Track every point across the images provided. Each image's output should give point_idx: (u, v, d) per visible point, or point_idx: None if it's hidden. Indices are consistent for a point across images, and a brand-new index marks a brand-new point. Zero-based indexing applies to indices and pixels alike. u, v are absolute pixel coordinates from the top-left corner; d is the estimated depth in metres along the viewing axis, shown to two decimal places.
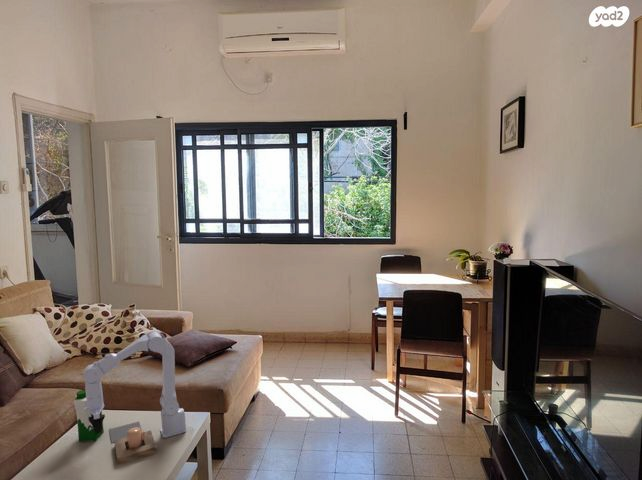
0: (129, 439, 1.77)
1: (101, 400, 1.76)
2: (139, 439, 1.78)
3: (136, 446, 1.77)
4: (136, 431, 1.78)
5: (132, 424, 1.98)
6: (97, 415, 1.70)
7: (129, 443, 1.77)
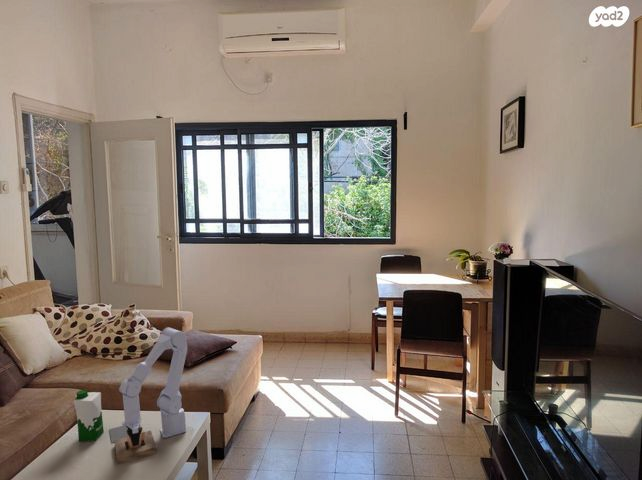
0: (129, 439, 1.77)
1: (139, 414, 1.77)
2: None
3: (136, 446, 1.77)
4: None
5: None
6: (136, 429, 1.72)
7: (129, 443, 1.77)
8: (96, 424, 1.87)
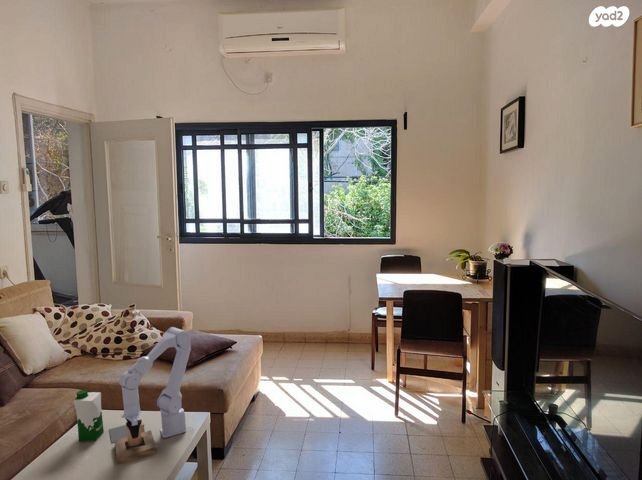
0: (128, 432, 1.76)
1: (138, 406, 1.77)
2: None
3: (135, 439, 1.77)
4: None
5: None
6: (135, 422, 1.72)
7: (128, 436, 1.77)
8: (96, 424, 1.87)
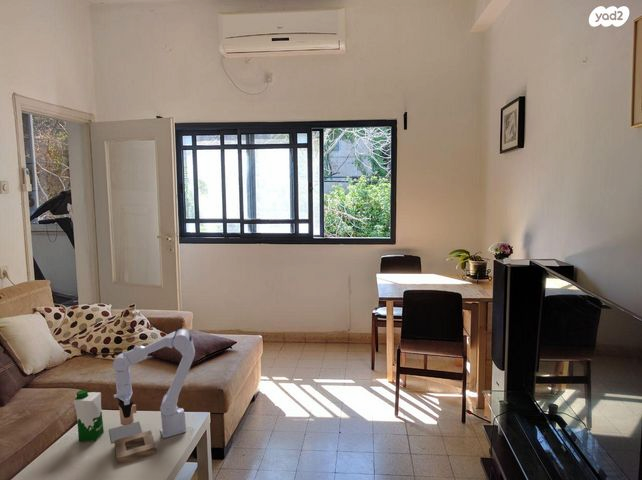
0: (121, 411, 1.85)
1: (130, 387, 1.85)
2: None
3: (127, 418, 1.85)
4: None
5: (132, 424, 1.98)
6: (127, 401, 1.80)
7: (121, 415, 1.85)
8: (96, 424, 1.87)
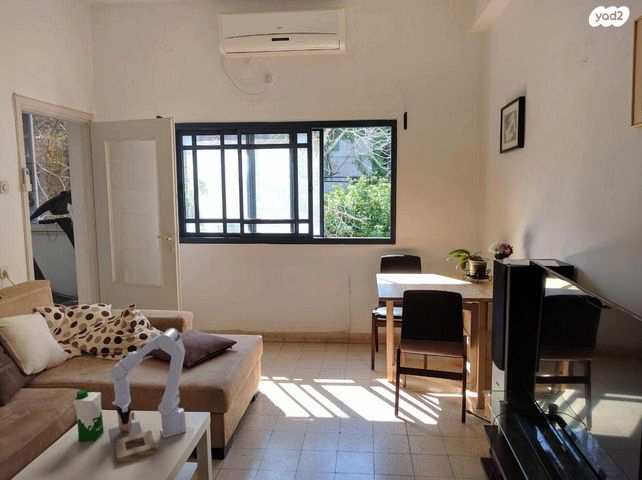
0: (119, 418, 1.90)
1: (128, 395, 1.90)
2: None
3: (125, 425, 1.90)
4: None
5: (132, 424, 1.98)
6: (125, 408, 1.85)
7: (119, 422, 1.90)
8: (96, 424, 1.87)
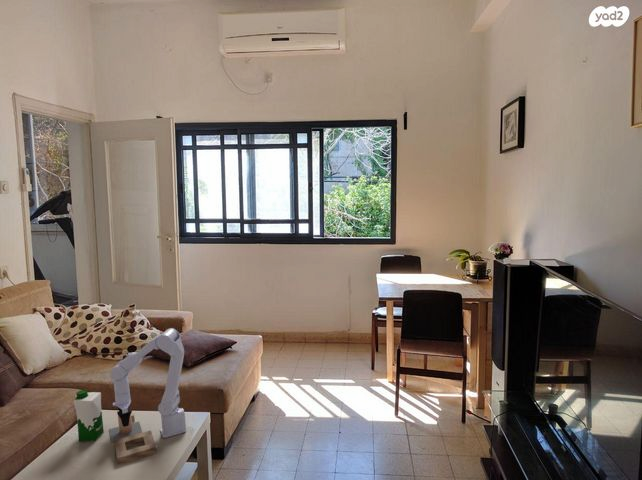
0: (119, 421, 1.90)
1: (128, 396, 1.90)
2: (129, 422, 1.91)
3: (126, 428, 1.90)
4: None
5: (132, 424, 1.98)
6: (125, 409, 1.85)
7: (119, 425, 1.90)
8: (96, 424, 1.87)
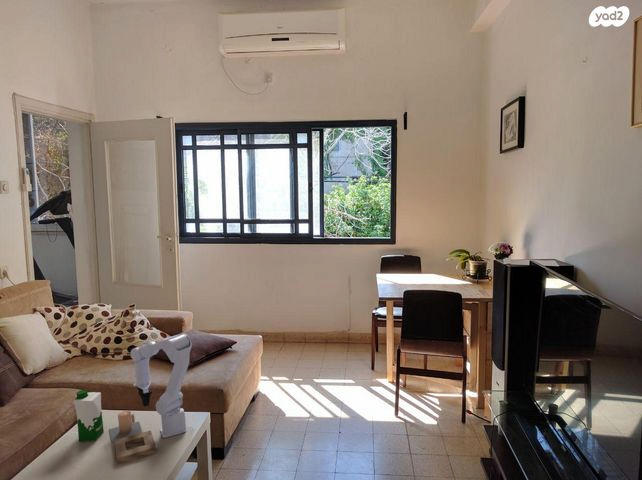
0: (119, 421, 1.90)
1: (148, 377, 1.97)
2: (129, 422, 1.91)
3: (126, 428, 1.90)
4: (126, 414, 1.91)
5: (132, 424, 1.98)
6: (146, 389, 1.92)
7: (119, 425, 1.90)
8: (96, 424, 1.87)
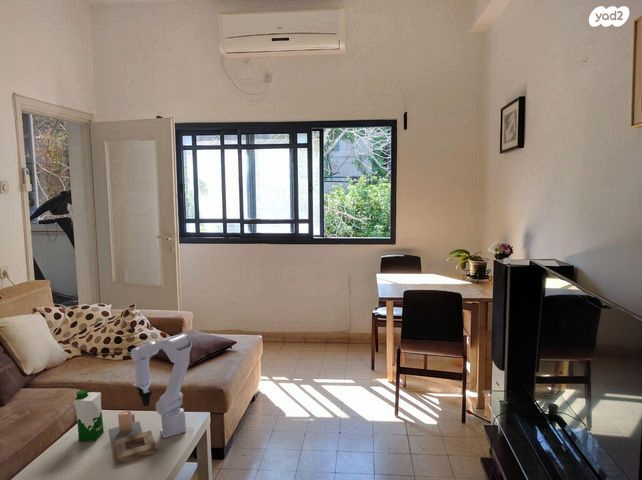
0: (120, 421, 1.90)
1: (148, 377, 1.97)
2: (129, 421, 1.91)
3: (126, 428, 1.90)
4: (126, 414, 1.91)
5: (132, 424, 1.98)
6: (146, 389, 1.92)
7: (120, 425, 1.90)
8: (96, 424, 1.87)
